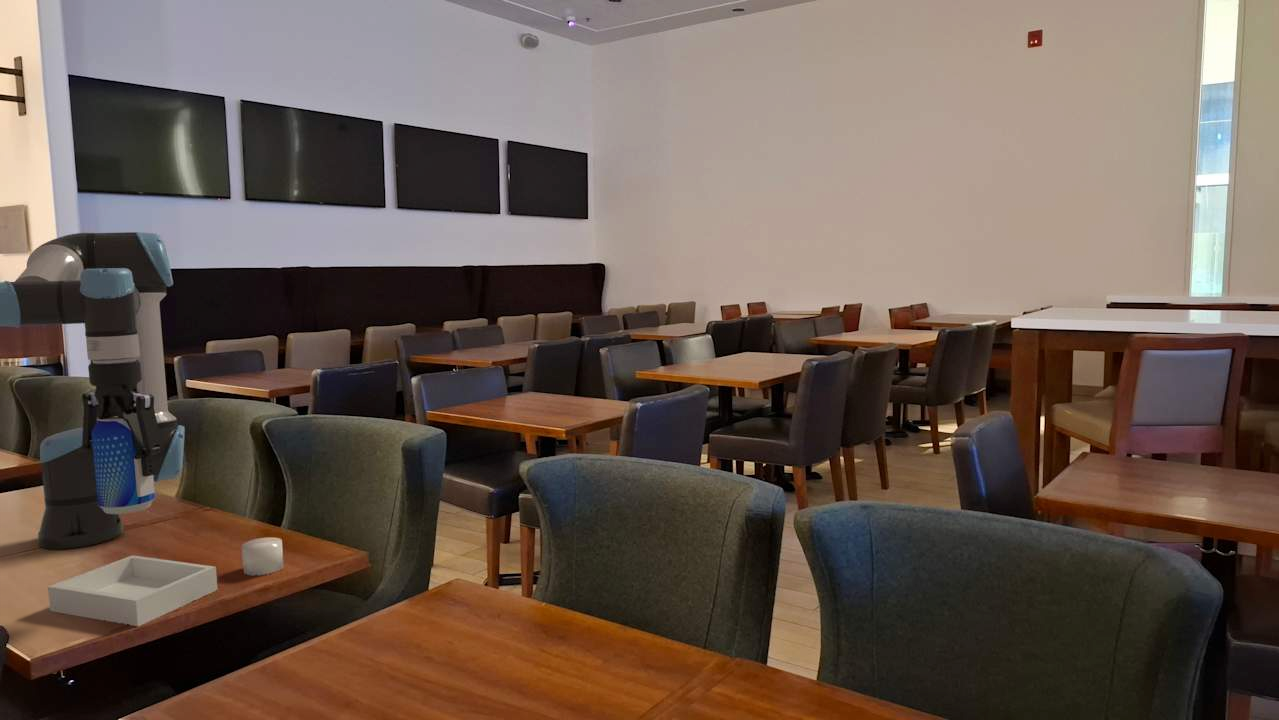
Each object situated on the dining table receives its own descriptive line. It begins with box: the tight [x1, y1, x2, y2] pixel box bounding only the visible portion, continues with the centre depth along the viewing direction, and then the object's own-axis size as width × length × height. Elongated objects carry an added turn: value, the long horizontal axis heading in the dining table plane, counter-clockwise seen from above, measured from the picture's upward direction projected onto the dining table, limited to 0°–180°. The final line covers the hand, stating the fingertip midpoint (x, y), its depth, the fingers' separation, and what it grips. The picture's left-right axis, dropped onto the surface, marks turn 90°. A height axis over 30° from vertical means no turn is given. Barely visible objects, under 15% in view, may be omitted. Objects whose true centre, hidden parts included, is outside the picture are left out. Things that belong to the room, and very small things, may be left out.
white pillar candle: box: [241, 536, 285, 576], centre depth 164 cm, size 7×7×5 cm
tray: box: [47, 554, 218, 627], centre depth 150 cm, size 20×16×4 cm
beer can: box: [92, 413, 156, 515], centre depth 147 cm, size 8×8×16 cm
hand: (126, 492), depth 147 cm, fingers closed on beer can, 8 cm apart
